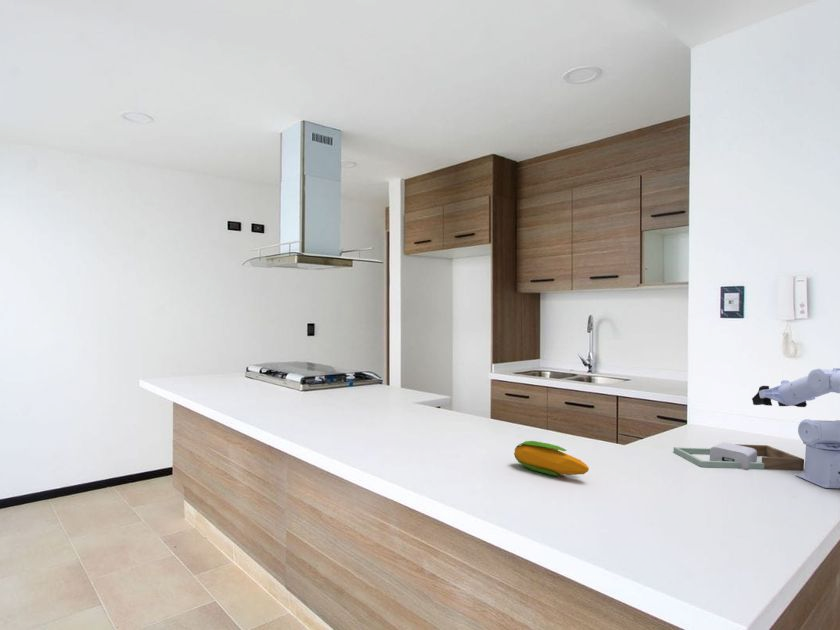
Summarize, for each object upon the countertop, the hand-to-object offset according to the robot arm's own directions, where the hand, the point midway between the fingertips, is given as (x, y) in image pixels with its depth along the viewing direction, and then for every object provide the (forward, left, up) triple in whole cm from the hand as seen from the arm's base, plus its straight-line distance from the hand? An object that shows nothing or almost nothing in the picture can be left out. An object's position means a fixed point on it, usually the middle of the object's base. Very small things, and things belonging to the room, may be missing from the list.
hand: (766, 402), depth 148 cm
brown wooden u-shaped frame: (-4, +3, -16) cm, 17 cm away
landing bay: (-4, +17, -16) cm, 24 cm away
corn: (-20, +69, -17) cm, 74 cm away
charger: (-4, +11, -17) cm, 21 cm away
